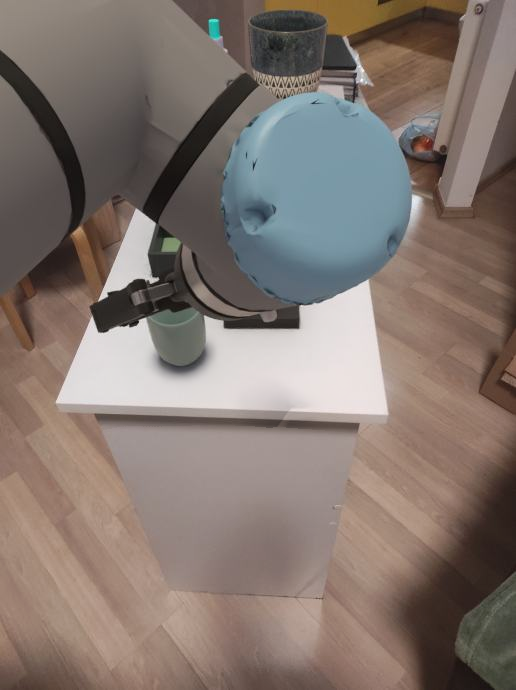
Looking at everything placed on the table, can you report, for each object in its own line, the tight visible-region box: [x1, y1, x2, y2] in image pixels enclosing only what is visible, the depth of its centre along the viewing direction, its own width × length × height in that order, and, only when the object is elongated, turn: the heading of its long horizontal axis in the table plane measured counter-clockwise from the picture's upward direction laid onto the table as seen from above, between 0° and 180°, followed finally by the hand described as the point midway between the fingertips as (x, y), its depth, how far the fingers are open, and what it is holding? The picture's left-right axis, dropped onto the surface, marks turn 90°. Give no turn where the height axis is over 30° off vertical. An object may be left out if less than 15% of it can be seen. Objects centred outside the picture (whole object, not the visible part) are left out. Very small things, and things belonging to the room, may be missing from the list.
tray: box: [147, 223, 181, 278], centre depth 92 cm, size 11×21×5 cm, turn 179°
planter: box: [247, 8, 329, 101], centre depth 127 cm, size 20×20×21 cm
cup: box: [145, 301, 207, 367], centre depth 71 cm, size 8×8×10 cm
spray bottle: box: [208, 18, 229, 54], centre depth 126 cm, size 6×6×22 cm
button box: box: [223, 305, 301, 329], centre depth 80 cm, size 12×9×4 cm
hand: (190, 295), depth 53 cm, fingers open, 13 cm apart
